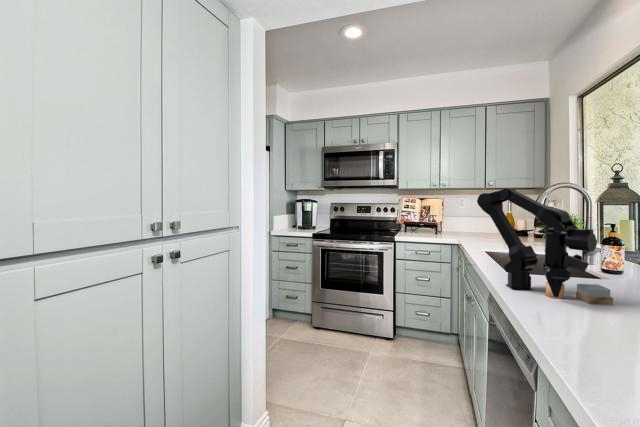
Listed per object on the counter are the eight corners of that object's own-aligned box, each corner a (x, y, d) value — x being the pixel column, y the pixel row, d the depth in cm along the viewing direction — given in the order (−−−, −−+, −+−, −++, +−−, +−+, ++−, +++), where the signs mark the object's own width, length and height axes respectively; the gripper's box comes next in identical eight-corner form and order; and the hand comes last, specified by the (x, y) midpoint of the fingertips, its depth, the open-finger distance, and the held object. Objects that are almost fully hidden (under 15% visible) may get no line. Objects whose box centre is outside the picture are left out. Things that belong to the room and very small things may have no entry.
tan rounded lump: (551, 298, 106) (551, 285, 106) (542, 294, 111) (542, 281, 111) (567, 299, 105) (567, 285, 105) (558, 294, 110) (558, 281, 110)
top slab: (588, 296, 100) (588, 288, 100) (576, 291, 106) (576, 283, 106) (610, 297, 99) (610, 289, 99) (597, 291, 105) (597, 284, 105)
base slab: (589, 305, 100) (589, 297, 100) (576, 298, 106) (576, 291, 106) (612, 305, 99) (613, 297, 99) (597, 299, 105) (597, 291, 105)
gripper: (592, 253, 95) (590, 305, 96) (581, 245, 111) (580, 289, 111) (546, 250, 101) (545, 299, 102) (542, 243, 117) (542, 285, 117)
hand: (554, 293), depth 108 cm, fingers open, 9 cm apart
